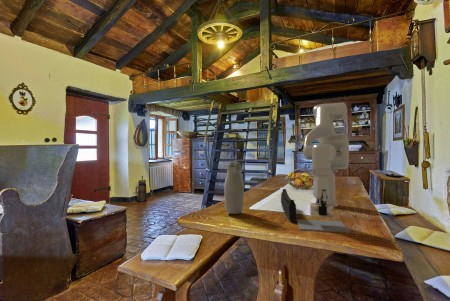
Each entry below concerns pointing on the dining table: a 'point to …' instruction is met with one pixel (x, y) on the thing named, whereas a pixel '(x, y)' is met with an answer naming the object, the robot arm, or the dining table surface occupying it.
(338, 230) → the mat
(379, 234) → the dining table surface
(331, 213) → the card box
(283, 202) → the magazine
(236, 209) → the glass bottle
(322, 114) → the robot arm
